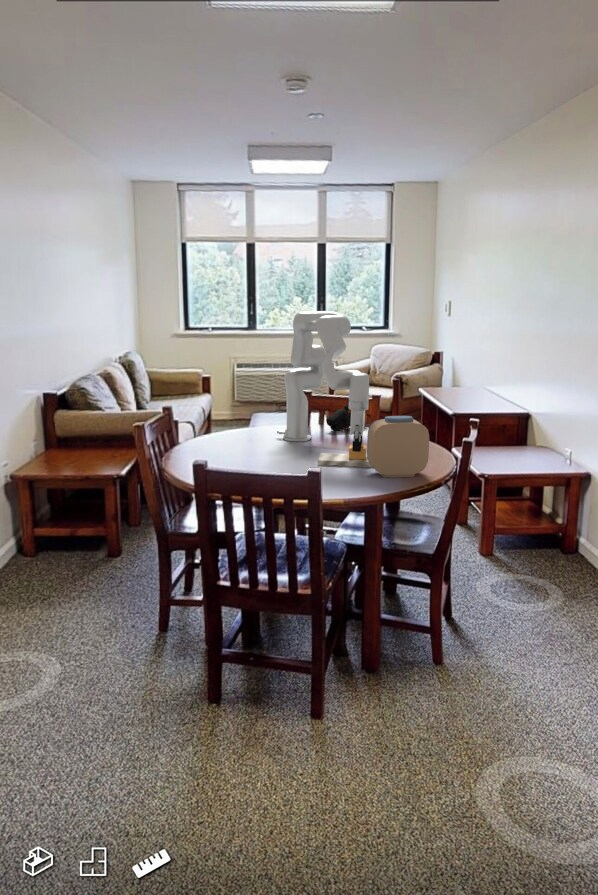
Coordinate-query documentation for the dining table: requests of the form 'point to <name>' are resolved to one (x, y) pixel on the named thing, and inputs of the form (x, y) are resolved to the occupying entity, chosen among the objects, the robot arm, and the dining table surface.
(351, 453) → the orange square frame
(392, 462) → the alarm clock
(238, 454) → the dining table surface
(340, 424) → the tool
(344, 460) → the peg board
